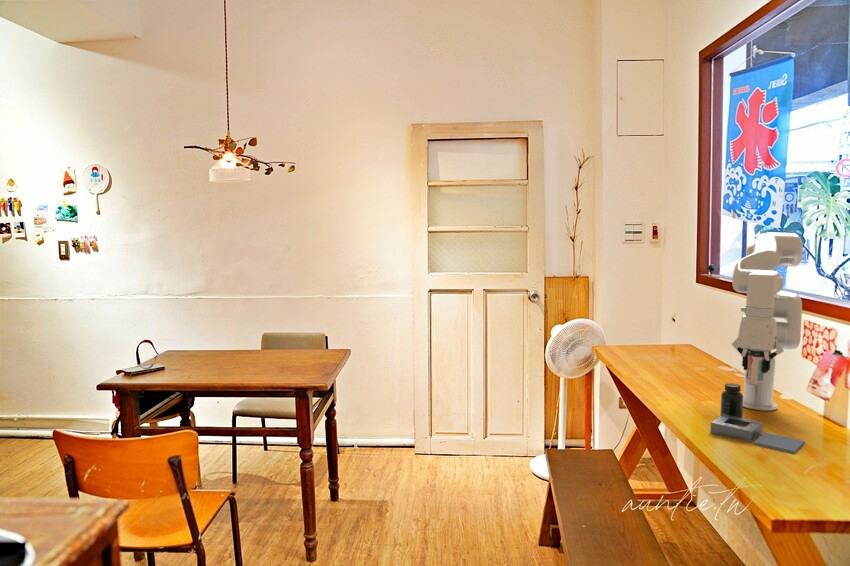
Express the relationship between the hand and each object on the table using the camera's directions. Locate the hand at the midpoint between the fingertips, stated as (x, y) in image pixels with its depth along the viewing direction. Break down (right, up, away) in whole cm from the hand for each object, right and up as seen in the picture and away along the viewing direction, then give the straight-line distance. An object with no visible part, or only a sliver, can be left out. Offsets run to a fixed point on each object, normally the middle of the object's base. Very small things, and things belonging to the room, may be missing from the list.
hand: (755, 370), depth 193 cm
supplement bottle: (+2, -20, +20) cm, 28 cm away
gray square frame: (-3, -21, +6) cm, 22 cm away
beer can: (0, -5, +1) cm, 5 cm away
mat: (+5, -22, -4) cm, 23 cm away
